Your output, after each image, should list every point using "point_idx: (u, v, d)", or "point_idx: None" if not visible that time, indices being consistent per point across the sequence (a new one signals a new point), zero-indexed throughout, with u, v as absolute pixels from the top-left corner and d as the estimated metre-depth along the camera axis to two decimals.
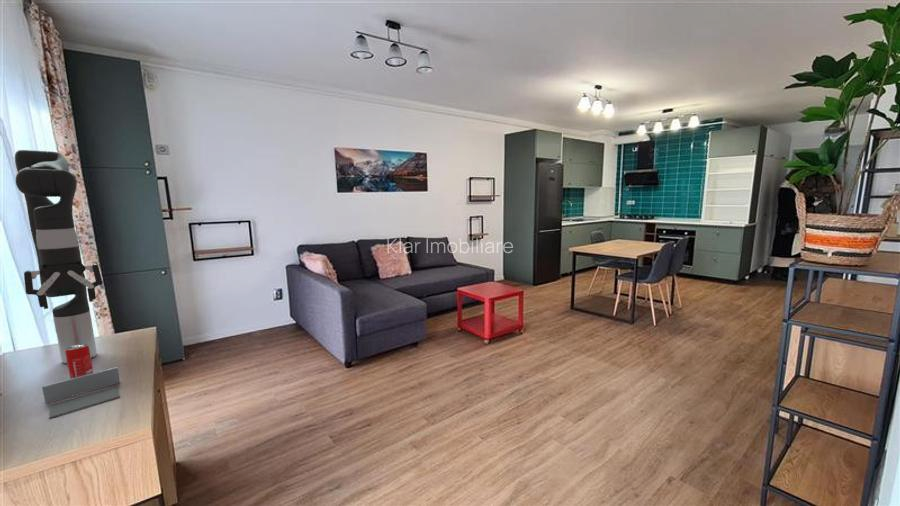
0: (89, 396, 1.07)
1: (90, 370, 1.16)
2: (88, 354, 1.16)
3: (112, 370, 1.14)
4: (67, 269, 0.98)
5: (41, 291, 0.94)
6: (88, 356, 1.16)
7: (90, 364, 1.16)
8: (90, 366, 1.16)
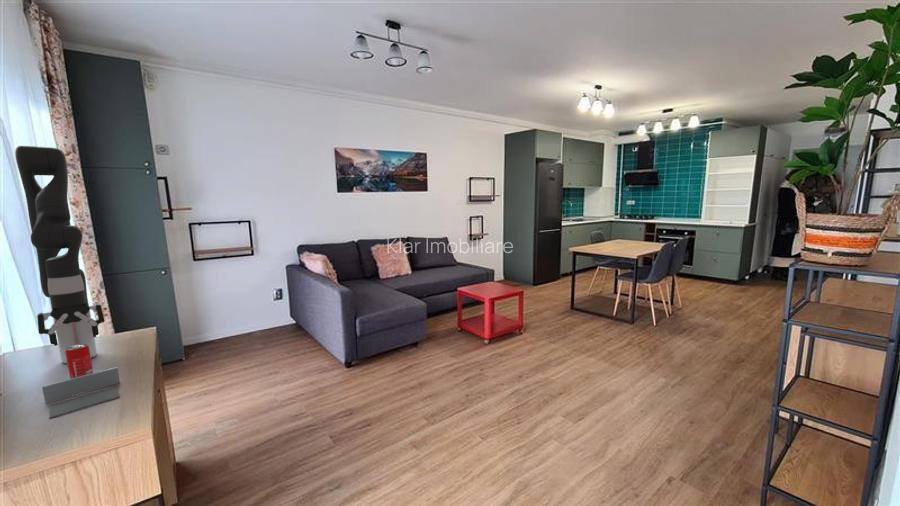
0: (89, 396, 1.07)
1: (90, 370, 1.16)
2: (88, 354, 1.16)
3: (112, 370, 1.14)
4: (74, 310, 1.13)
5: (52, 330, 1.09)
6: (88, 356, 1.16)
7: (90, 364, 1.16)
8: (90, 366, 1.16)
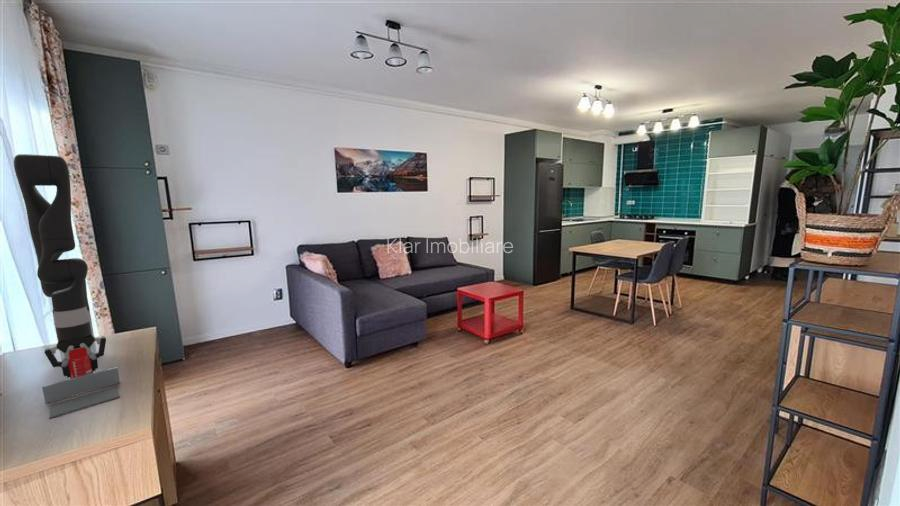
0: (89, 396, 1.07)
1: (90, 370, 1.16)
2: None
3: (112, 370, 1.14)
4: (79, 342, 1.14)
5: (65, 363, 1.12)
6: (88, 356, 1.16)
7: (90, 364, 1.16)
8: (90, 366, 1.16)
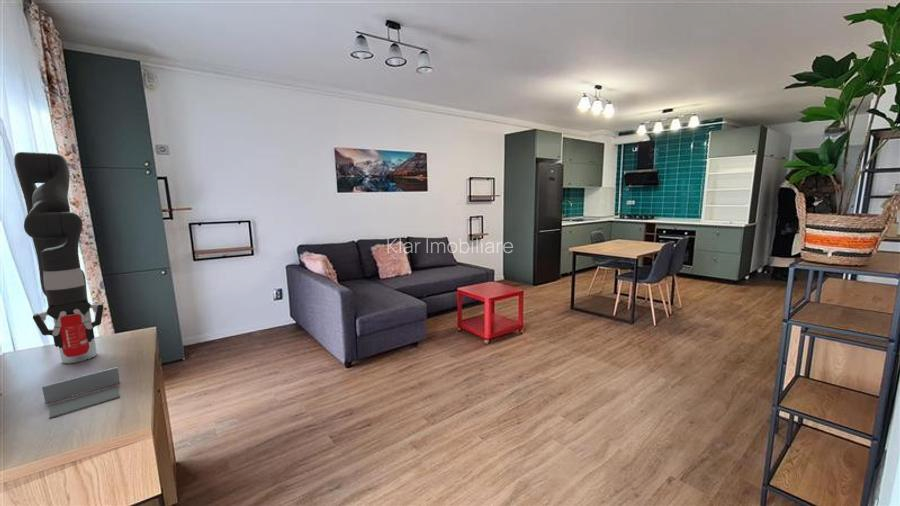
0: (89, 396, 1.07)
1: (85, 340, 1.02)
2: None
3: (112, 370, 1.14)
4: (73, 308, 1.00)
5: (56, 331, 0.98)
6: (83, 324, 1.02)
7: (85, 334, 1.03)
8: (85, 336, 1.03)
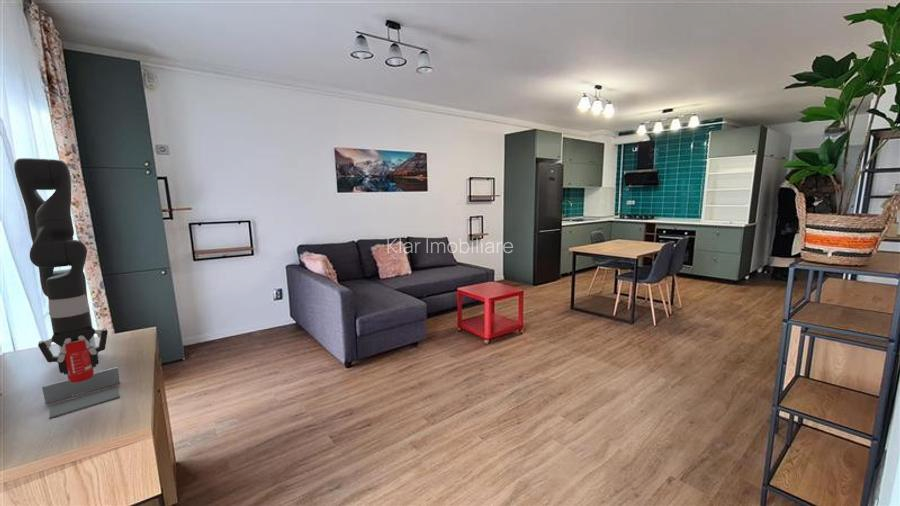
0: (89, 396, 1.07)
1: (90, 366, 1.04)
2: None
3: (112, 370, 1.14)
4: (78, 334, 1.02)
5: (61, 358, 1.00)
6: (87, 350, 1.03)
7: (90, 359, 1.04)
8: (90, 361, 1.04)
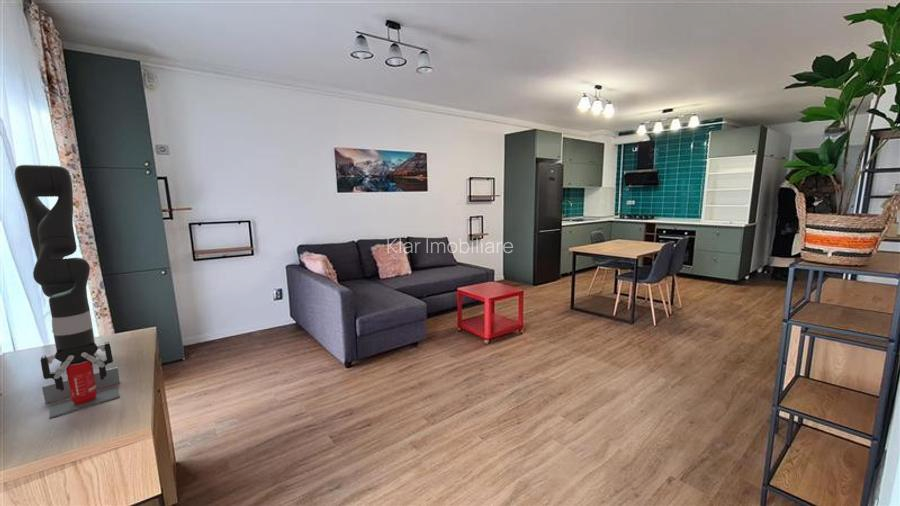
0: None
1: (93, 387, 1.05)
2: (91, 369, 1.04)
3: (112, 370, 1.14)
4: (81, 351, 1.02)
5: (58, 374, 0.99)
6: (91, 372, 1.04)
7: (93, 380, 1.05)
8: (93, 383, 1.05)
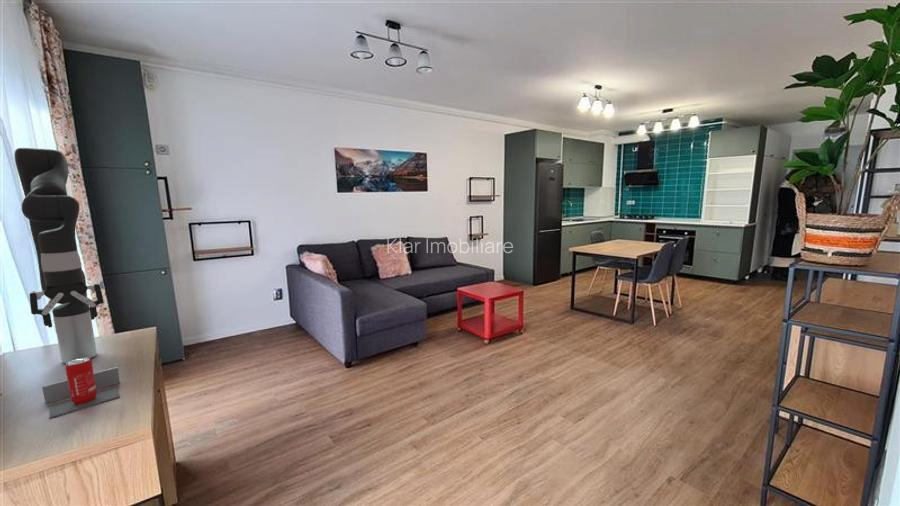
0: None
1: (93, 387, 1.05)
2: (91, 369, 1.04)
3: (112, 370, 1.14)
4: (70, 289, 1.03)
5: (46, 311, 1.00)
6: (91, 372, 1.04)
7: (93, 380, 1.05)
8: (93, 383, 1.05)
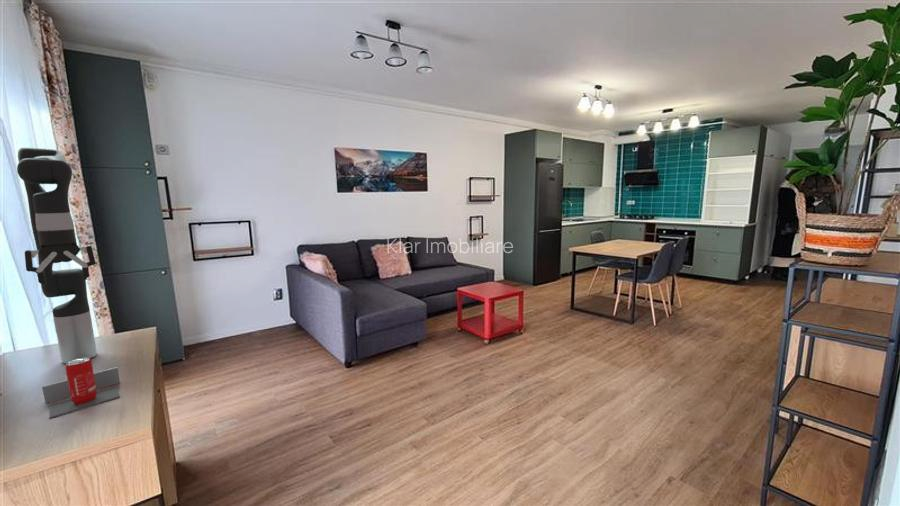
0: None
1: (93, 387, 1.05)
2: (91, 369, 1.04)
3: (112, 370, 1.14)
4: (63, 249, 1.08)
5: (40, 269, 1.05)
6: (91, 372, 1.04)
7: (93, 380, 1.05)
8: (93, 383, 1.05)
